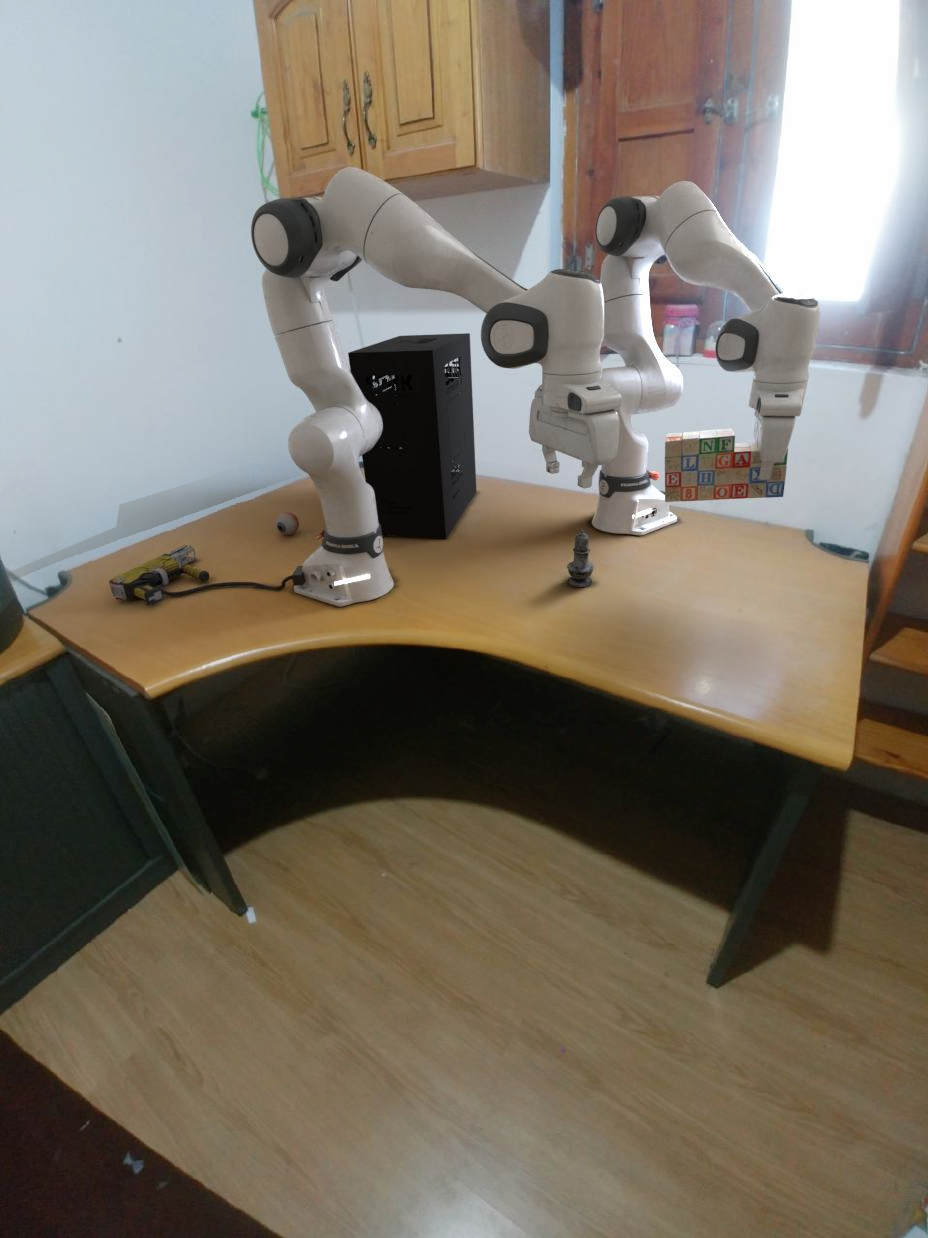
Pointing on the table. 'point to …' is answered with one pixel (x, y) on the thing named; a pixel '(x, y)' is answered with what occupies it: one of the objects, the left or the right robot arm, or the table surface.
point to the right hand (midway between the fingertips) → (762, 472)
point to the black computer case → (419, 431)
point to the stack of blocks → (717, 468)
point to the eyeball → (287, 523)
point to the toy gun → (155, 576)
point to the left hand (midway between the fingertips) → (567, 479)
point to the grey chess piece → (580, 562)
